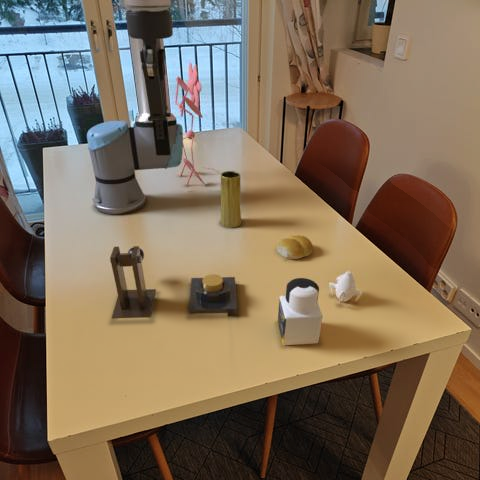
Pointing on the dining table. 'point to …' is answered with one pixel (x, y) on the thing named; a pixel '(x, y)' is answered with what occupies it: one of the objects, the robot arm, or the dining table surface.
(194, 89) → the figurine
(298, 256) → the bread roll
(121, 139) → the robot arm
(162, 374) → the dining table surface
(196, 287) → the button base
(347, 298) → the rocket toy
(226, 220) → the vase
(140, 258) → the lever bracket
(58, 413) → the dining table surface
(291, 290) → the medicine bottle
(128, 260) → the flush lever
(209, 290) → the tan short cylinder
